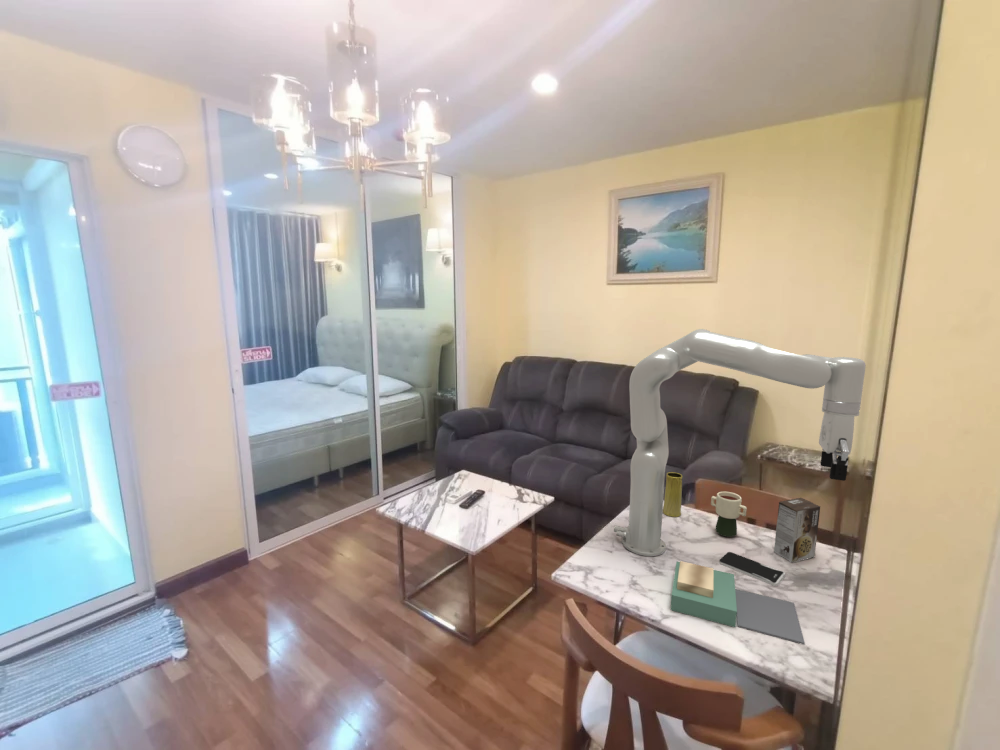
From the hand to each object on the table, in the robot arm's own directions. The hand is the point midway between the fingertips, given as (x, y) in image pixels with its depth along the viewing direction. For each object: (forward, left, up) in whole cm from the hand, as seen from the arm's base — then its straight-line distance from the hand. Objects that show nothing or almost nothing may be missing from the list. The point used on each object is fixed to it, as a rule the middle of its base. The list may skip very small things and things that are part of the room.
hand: (832, 472), depth 116 cm
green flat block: (-28, -20, -31) cm, 46 cm away
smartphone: (-16, 0, -32) cm, 35 cm away
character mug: (-22, +19, -31) cm, 43 cm away
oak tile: (-30, -20, -27) cm, 45 cm away
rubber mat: (-14, -20, -31) cm, 39 cm away
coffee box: (-4, +14, -31) cm, 34 cm away
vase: (-39, +27, -31) cm, 57 cm away
